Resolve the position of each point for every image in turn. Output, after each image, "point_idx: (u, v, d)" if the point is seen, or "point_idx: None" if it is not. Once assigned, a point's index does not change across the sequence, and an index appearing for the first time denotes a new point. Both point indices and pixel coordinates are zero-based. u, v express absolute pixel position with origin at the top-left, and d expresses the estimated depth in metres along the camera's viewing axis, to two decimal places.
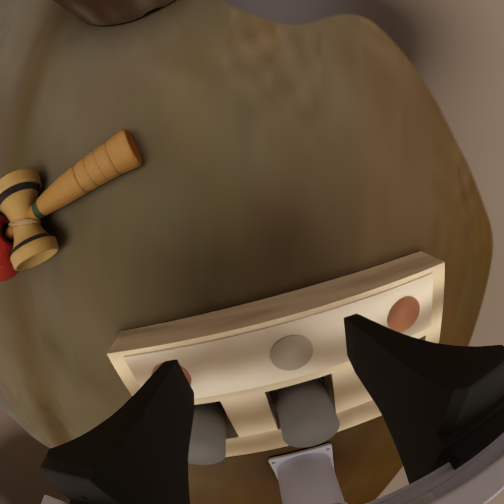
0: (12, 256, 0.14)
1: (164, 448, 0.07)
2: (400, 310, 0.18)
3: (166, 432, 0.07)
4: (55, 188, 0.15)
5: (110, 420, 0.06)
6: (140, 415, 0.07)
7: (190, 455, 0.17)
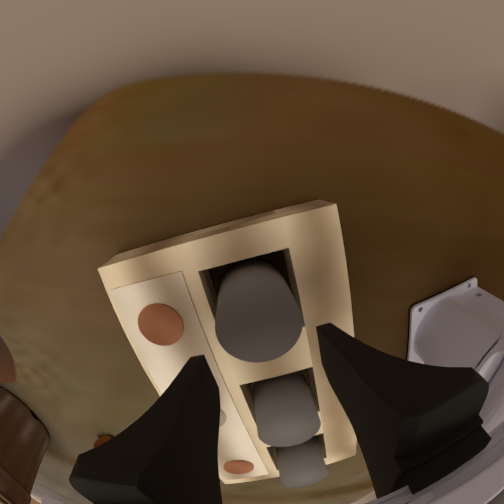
0: None
1: (198, 446, 0.07)
2: (153, 332, 0.16)
3: (199, 429, 0.07)
4: None
5: (142, 420, 0.06)
6: (176, 413, 0.07)
7: (309, 480, 0.18)
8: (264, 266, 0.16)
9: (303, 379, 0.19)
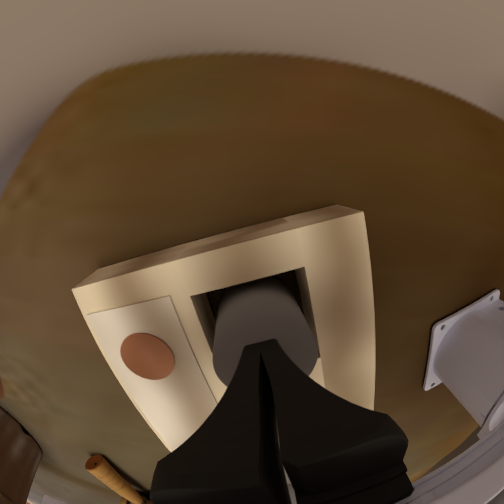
0: None
1: (271, 435, 0.07)
2: (139, 365, 0.13)
3: (268, 417, 0.07)
4: (124, 497, 0.19)
5: (218, 412, 0.06)
6: (256, 400, 0.07)
7: None
8: (271, 283, 0.14)
9: None
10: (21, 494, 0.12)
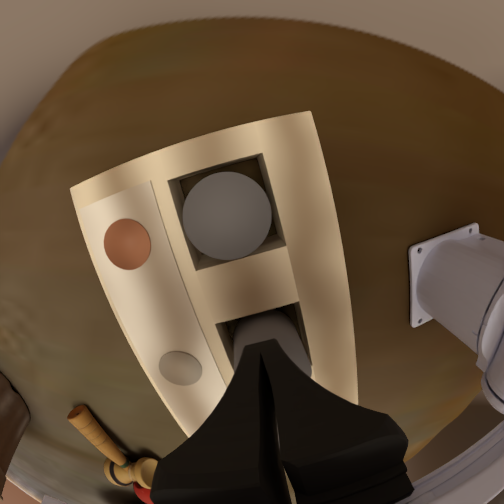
0: (145, 488, 0.20)
1: (271, 435, 0.07)
2: (119, 254, 0.15)
3: (268, 417, 0.07)
4: (106, 455, 0.21)
5: (218, 412, 0.06)
6: (256, 400, 0.07)
7: None
8: None
9: (290, 321, 0.18)
10: (3, 453, 0.13)
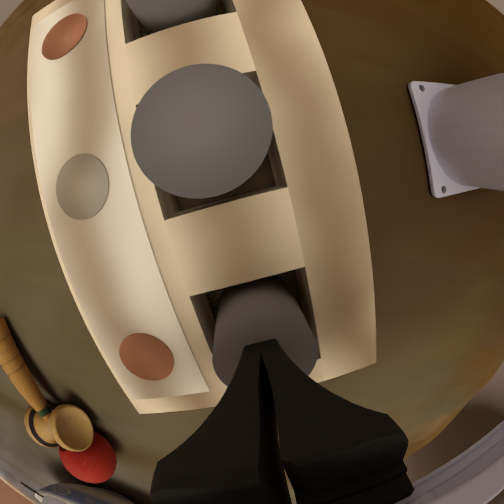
0: (63, 448, 0.14)
1: (271, 435, 0.07)
2: (53, 45, 0.08)
3: (268, 418, 0.07)
4: (20, 392, 0.14)
5: (218, 412, 0.06)
6: (256, 400, 0.07)
7: None
8: None
9: None
10: None
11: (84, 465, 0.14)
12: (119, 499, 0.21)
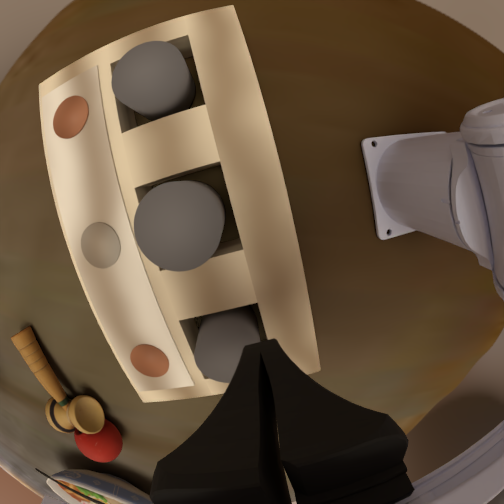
0: (80, 430, 0.19)
1: (271, 435, 0.07)
2: (63, 125, 0.13)
3: (268, 418, 0.07)
4: (44, 387, 0.20)
5: (218, 412, 0.06)
6: (256, 400, 0.07)
7: None
8: None
9: (215, 191, 0.16)
10: None
11: (96, 445, 0.20)
12: (122, 482, 0.26)
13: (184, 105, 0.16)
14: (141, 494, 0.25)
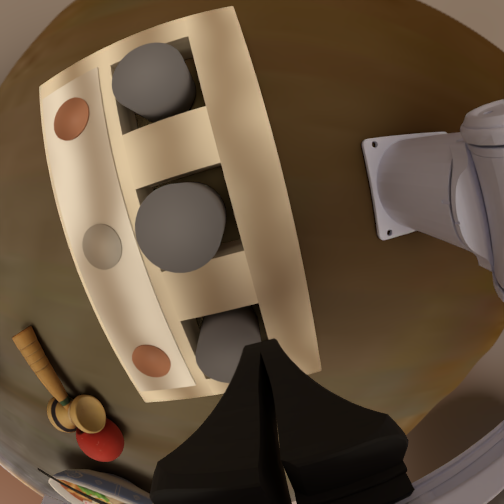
0: (81, 430, 0.19)
1: (271, 435, 0.07)
2: (63, 127, 0.13)
3: (268, 418, 0.07)
4: (45, 386, 0.20)
5: (218, 412, 0.06)
6: (256, 400, 0.07)
7: None
8: None
9: (215, 192, 0.16)
10: None
11: (98, 445, 0.20)
12: (124, 482, 0.26)
13: (184, 106, 0.16)
14: (143, 493, 0.26)
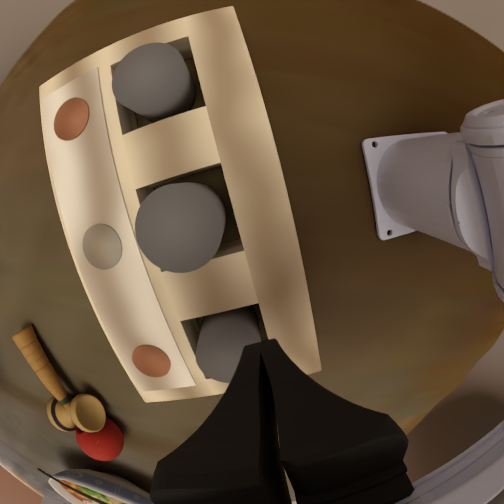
0: (81, 429, 0.19)
1: (271, 435, 0.07)
2: (63, 127, 0.13)
3: (268, 418, 0.07)
4: (45, 385, 0.20)
5: (218, 412, 0.06)
6: (256, 400, 0.07)
7: None
8: None
9: (215, 192, 0.16)
10: None
11: (97, 444, 0.20)
12: (124, 481, 0.26)
13: (184, 106, 0.16)
14: (143, 493, 0.26)
